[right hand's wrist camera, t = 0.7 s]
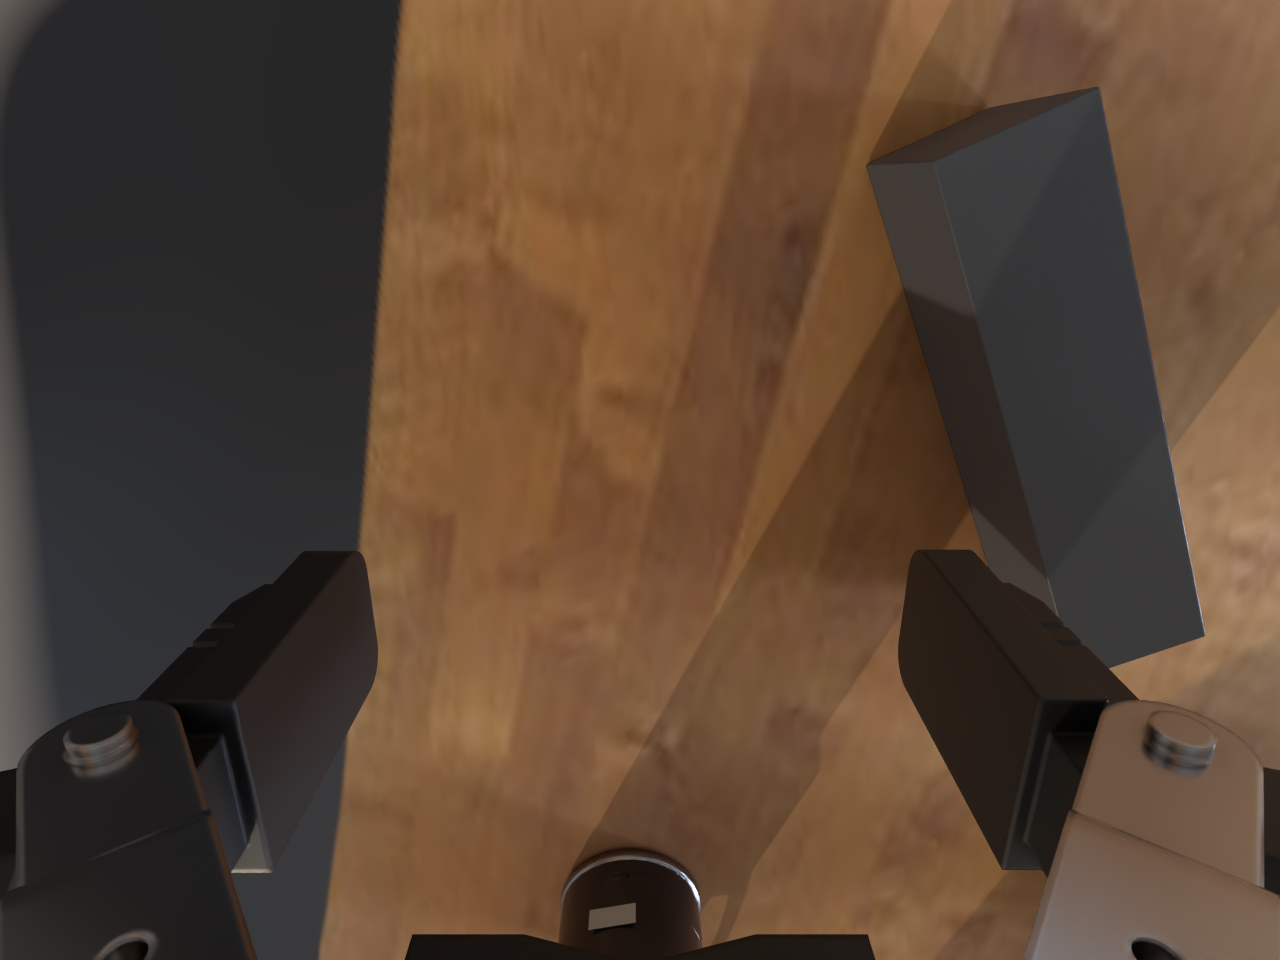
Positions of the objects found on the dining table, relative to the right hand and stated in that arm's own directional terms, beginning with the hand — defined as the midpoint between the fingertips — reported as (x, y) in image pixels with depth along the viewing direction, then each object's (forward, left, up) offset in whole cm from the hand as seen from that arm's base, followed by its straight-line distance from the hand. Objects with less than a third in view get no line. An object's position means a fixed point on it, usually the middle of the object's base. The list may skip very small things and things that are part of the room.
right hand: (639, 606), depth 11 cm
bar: (-6, -17, -28) cm, 33 cm away
